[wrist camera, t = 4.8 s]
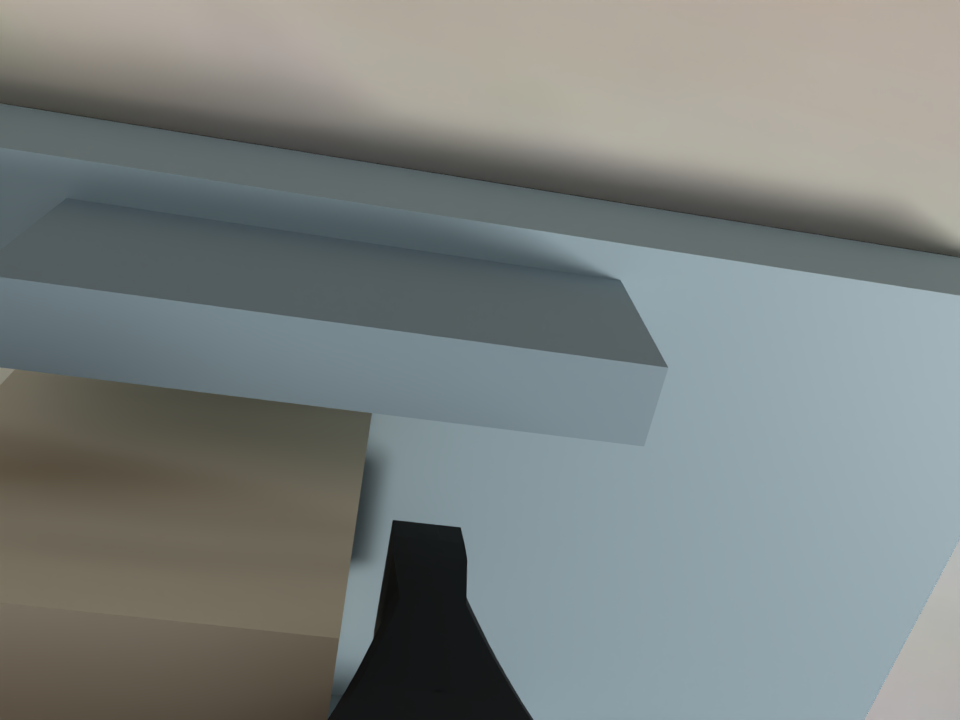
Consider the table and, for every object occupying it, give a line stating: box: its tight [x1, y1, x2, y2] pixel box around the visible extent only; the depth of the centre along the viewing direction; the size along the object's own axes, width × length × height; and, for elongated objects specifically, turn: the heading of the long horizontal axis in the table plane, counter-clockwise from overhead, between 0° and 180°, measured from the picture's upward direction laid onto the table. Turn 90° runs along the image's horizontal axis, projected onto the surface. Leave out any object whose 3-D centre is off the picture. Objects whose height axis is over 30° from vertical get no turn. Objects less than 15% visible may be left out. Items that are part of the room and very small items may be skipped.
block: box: [0, 369, 372, 720], centre depth 11 cm, size 4×4×4 cm
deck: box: [0, 103, 960, 720], centre depth 12 cm, size 10×25×4 cm, turn 80°
